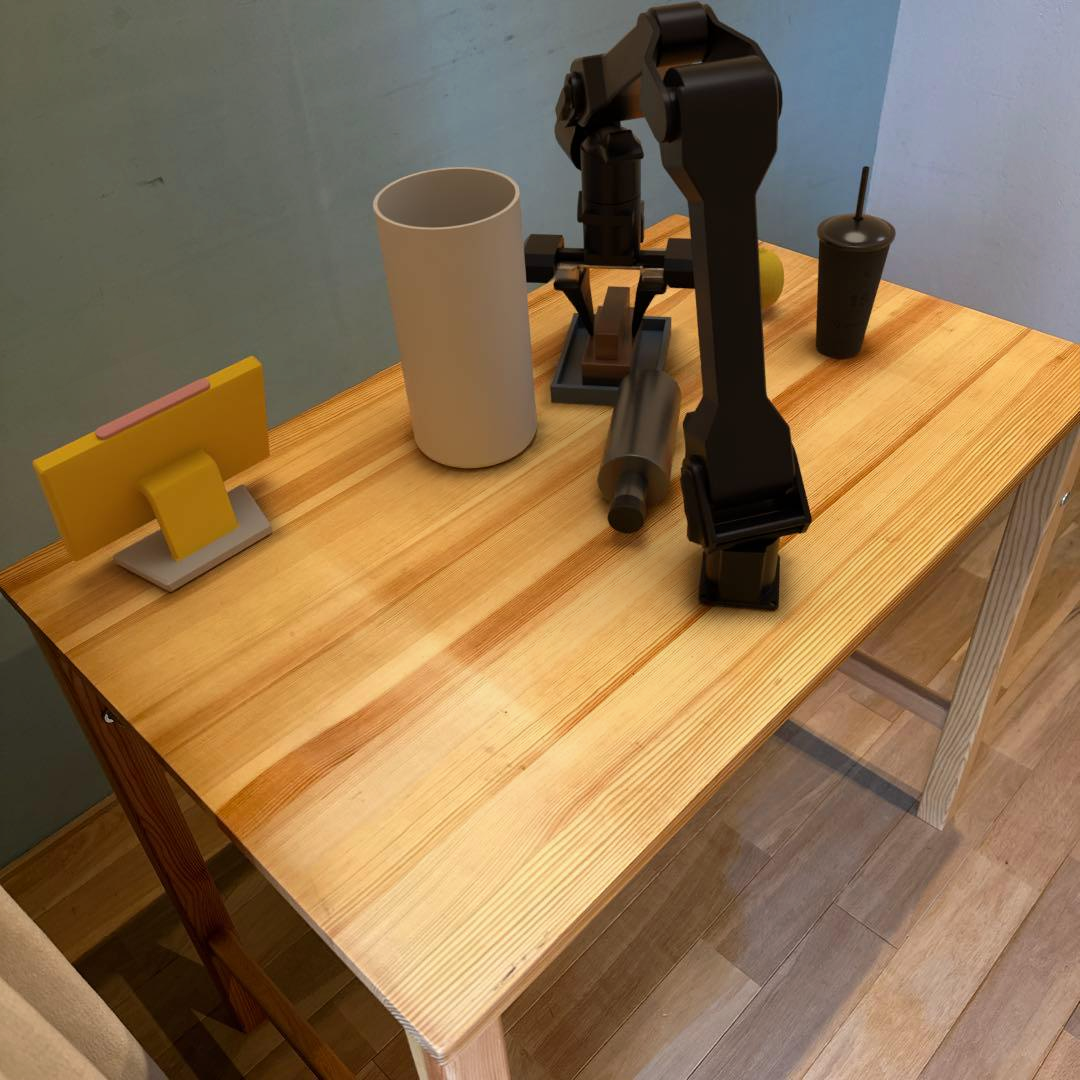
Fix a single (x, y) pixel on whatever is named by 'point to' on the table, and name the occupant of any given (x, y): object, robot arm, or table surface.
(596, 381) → the scrub brush
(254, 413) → the yellow framed monitor
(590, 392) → the tray
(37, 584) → the table surface
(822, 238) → the drinking cup
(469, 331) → the cylinder vase
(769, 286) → the lemon
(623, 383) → the bottle
